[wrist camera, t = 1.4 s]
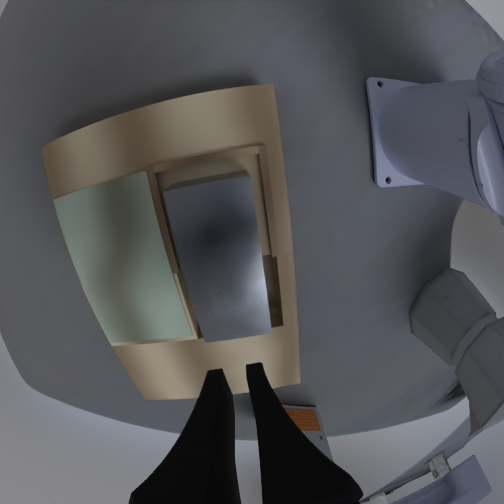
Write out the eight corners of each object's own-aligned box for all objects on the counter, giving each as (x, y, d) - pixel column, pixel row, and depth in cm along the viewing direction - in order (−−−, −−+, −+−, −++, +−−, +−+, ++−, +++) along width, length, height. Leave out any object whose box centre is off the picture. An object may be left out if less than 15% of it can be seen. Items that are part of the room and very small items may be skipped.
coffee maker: (431, 349, 27) (502, 453, 10) (384, 348, 25) (461, 486, 8) (490, 241, 21) (599, 327, 5) (451, 217, 19) (602, 325, 3)
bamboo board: (265, 92, 15) (274, 81, 12) (293, 359, 24) (301, 386, 21) (65, 143, 14) (37, 147, 11) (150, 376, 23) (144, 402, 20)
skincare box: (318, 405, 28) (344, 490, 17) (301, 422, 29) (320, 501, 18) (272, 401, 26) (289, 498, 16) (257, 419, 28) (269, 507, 17)
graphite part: (246, 169, 14) (250, 175, 12) (266, 311, 17) (272, 332, 15) (172, 183, 14) (163, 191, 12) (206, 320, 17) (205, 342, 15)
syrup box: (438, 456, 63) (450, 480, 50) (426, 462, 63) (438, 488, 50) (442, 451, 60) (455, 476, 47) (430, 458, 60) (443, 484, 47)
